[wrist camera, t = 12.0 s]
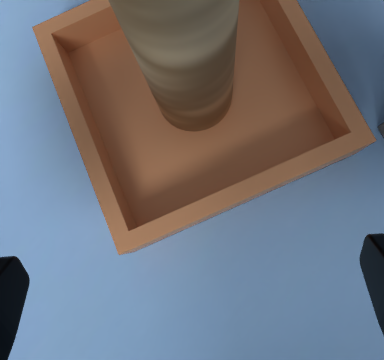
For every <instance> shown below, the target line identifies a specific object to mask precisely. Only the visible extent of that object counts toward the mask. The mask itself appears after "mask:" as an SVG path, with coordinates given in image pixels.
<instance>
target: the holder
mask: <svg viewBox="0 0 384 360" xmlns="http://www.w3.org/2000/svg"><path fill="white" fill-rule="evenodd" d="M378 129H379V131H380V132H381V134H382V136H383V138H384V123H382V124H381V125H380V126H378Z"/></svg>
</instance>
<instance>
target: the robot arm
mask: <svg viewBox="0 0 384 360" xmlns="http://www.w3.org/2000/svg"><path fill="white" fill-rule="evenodd" d="M360 266H361V269H362V272H363V275H364V279H365V282H366V285H367V288H368V291H369V295H370V298H371V301H372V304H373V307H374V311H375V314H376V317H377V320H378V323H379V325H380V328H381V330H382V333H383V335H384V234H369V235H367V236H366V237H365V239H364V243H363V247H362V250H361V254H360ZM28 287H29V275H28V273H27V272H26V270H25V268H24V267H23V265H22V263H21V262H20V260H19V259H18V258H17V257H16V256H8V257H0V360H8V357H9V354H10V352H11V349H12V346H13V343H14V340H15V337H16V333H17V330H18V326H19V322H20V318H21V314H22V311H23V307H24V303H25V299H26V295H27V291H28Z"/></svg>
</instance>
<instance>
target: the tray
mask: <svg viewBox="0 0 384 360" xmlns="http://www.w3.org/2000/svg"><path fill="white" fill-rule="evenodd" d="M32 28H33V31H34V33H35V36H36V38H37V41H38V44H39V46H40V49H41V52H42V54H43V57H44V60H45V62H46V65H47V67H48V70H49V73H50V75H51V78H52V81H53V83H54V86H55V88H56V91H57V94H58V96H59V99H60V102H61V104H62V107H63V109H64V112H65V115H66V117H67V120H68V123H69V125H70V128H71V130H72V133H73V136H74V138H75V141H76V144H77V146H78V149H79V151H80V154H81V157H82V159H83V162H84V165H85V167H86V170H87V172H88V175H89V178H90V180H91V183H92V186H93V188H94V191H95V193H96V196H97V199H98V201H99V204H100V207H101V209H102V212H103V214H104V217H105V220H106V222H107V225H108V228H109V230H110V233H111V235H112V238H113V241H114V243H115V246H116V249H117V251H118V254H119V255H121V254H126V253H132V252H135V251H137V250H139V249H142V248H144V247H146V246H148V245H151V244H153V243H155V242H157V241H160V240H162V239H164V238H166V237H169V236H171V235H173V234H175V233H178V232H180V231H182V230H184V229H187V228H189V227H191V226H193V225H196V224H198V223H200V222H203V221H205V220H207V219H209V218H212V217H214V216H216V215H218V214H221V213H223V212H225V211H227V210H230V209H232V208H234V207H236V206H239V205H241V204H243V203H245V202H248V201H250V200H252V199H254V198H257V197H259V196H261V195H263V194H266V193H268V192H270V191H272V190H275V189H277V188H279V187H281V186H284V185H286V184H288V183H290V182H293V181H295V180H297V179H299V178H302V177H304V176H306V175H308V174H311V173H313V172H315V171H317V170H320V169H322V168H324V167H326V166H329V165H331V164H333V163H336V162H338V161H340V160H342V159H345V158H347V157H349V156H351V155H354V154H356V153H357V152H359V151H360V150H362V149H364V148H365V147H367V146H369V145H370V144H372V143H373V142H375V141H376V139H375V137H374V135H373V134H372V132H371V130H370V128H369V127H368V125H367V123H366V121H365V120H364V118H363V116H362V114H361V112H360V111H359V109H358V107H357V105H356V104H355V102H354V100H353V98H352V97H351V95H350V93H349V91H348V90H347V88H346V86H345V84H344V82H343V81H342V79H341V77H340V75H339V74H338V72H337V70H336V68H335V67H334V65H333V63H332V61H331V60H330V58H329V56H328V54H327V53H326V51H325V49H324V47H323V45H322V44H321V42H320V40H319V38H318V37H317V35H316V33H315V31H314V30H313V28H312V26H311V24H310V23H309V21H308V19H307V17H306V16H305V14H304V12H303V10H302V8H301V7H300V5H299V3H298V1H297V0H239V12H238V25H237V38H236V51H235V64H234V77H233V90H232V100H231V105H230V108H229V110H228V112H227V114H226V115H225V117H224V118H223V119H222V120H221V121H220V122H219V123H217V124H216V125H215V126H213V127H211V128H209V129H206V130H202V131H196V132H193V131H185V130H181V129H179V128H176V127H175V126H173V125H171V124H170V123H169V122H168V121H167V120H166V119H165V118H164V116H163V115H162V113H161V111H160V109H159V107H158V105H157V103H156V100H155V98H154V96H153V94H152V92H151V90H150V88H149V86H148V83H147V81H146V79H145V77H144V75H143V73H142V71H141V69H140V66H139V64H138V62H137V60H136V58H135V56H134V54H133V52H132V49H131V47H130V45H129V43H128V41H127V39H126V37H125V35H124V32H123V30H122V28H121V26H120V24H119V22H118V20H117V18H116V15H115V13H114V11H113V9H112V7H111V5H110V3H109V1H108V0H90V1H88V2H86V3H84V4H81V5H79V6H77V7H75V8H73V9H71V10H68V11H66V12H64V13H62V14H60V15H58V16H55V17H53V18H51V19H49V20H47V21H44V22H42V23H40V24H38V25H36V26H34V27H32Z"/></svg>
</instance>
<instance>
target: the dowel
mask: <svg viewBox="0 0 384 360" xmlns="http://www.w3.org/2000/svg"><path fill="white" fill-rule="evenodd" d="M108 1H109V3H110V5H111V7H112V9H113V11H114V13H115V15H116V18H117V20H118V22H119V24H120V26H121V28H122V30H123V32H124V35H125V37H126V39H127V41H128V43H129V45H130V47H131V49H132V52H133V54H134V56H135V58H136V60H137V62H138V64H139V66H140V69H141V71H142V73H143V75H144V77H145V79H146V81H147V83H148V86H149V88H150V90H151V92H152V94H153V96H154V98H155V100H156V103H157V105H158V107H159V109H160V111H161V113H162V115H163V116H164V118H165V119H166V120H167V121H168V122H169V123H170V124H171V125H173V126H175V127H176V128H179V129H181V130H185V131H193V132H196V131H202V130H206V129H209V128H211V127H213V126H215V125H216V124H217V123H219V122H220V121H221V120H222V119H223V118H224V117H225V115H226V114H227V112H228V110H229V108H230V105H231V100H232V90H233V77H234V64H235V51H236V38H237V25H238V12H239V0H108Z"/></svg>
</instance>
